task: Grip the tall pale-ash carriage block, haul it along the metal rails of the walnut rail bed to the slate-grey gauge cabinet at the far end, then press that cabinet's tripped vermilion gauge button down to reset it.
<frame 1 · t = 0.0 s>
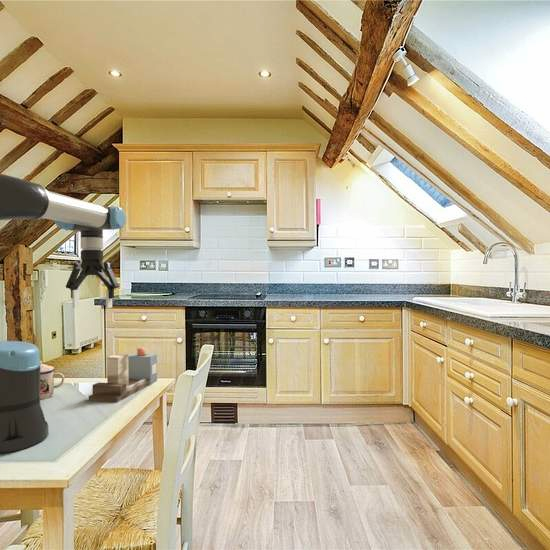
hand: (92, 307, 148), 28 cm above the table, tool pointing down, fingers open, 13 cm apart
carriage: (118, 372, 135), point 7 cm above the table, slide at 0.0 cm
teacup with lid: (43, 396, 133), on the table
rail bed: (125, 390, 139), on the table
gauge button: (141, 353, 150), point 10 cm above the table, slide at 0.0 cm
gauge cabinet: (141, 382, 150), resting on rail bed
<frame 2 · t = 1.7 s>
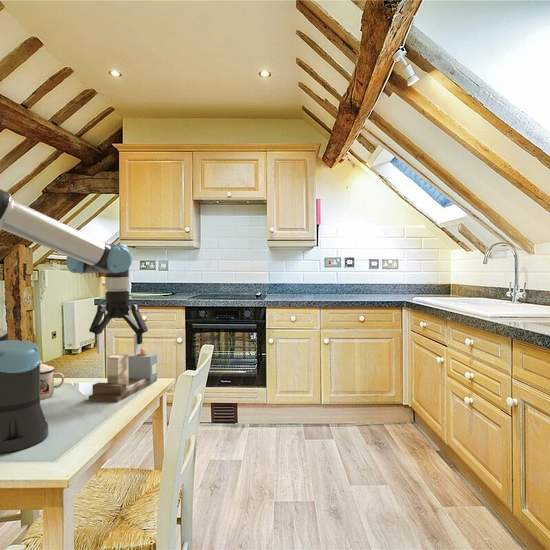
hand: (118, 353, 135), 13 cm above the table, tool pointing down, fingers open, 13 cm apart
nothing on the table moved.
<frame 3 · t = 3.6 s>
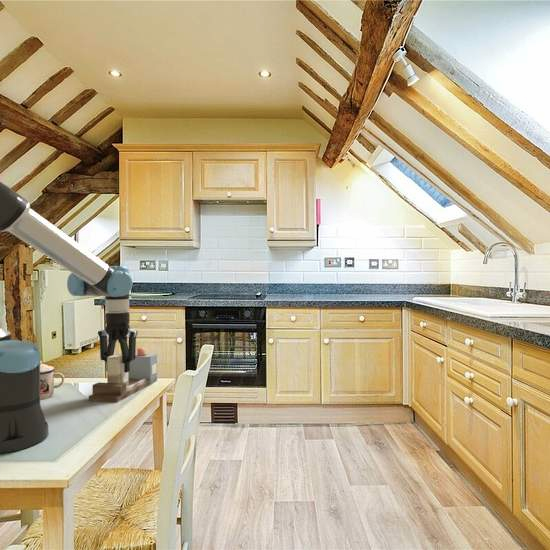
hand: (118, 381, 135), 4 cm above the table, tool pointing down, fingers closed on carriage, 4 cm apart
carriage: (118, 372, 135), point 7 cm above the table, slide at 0.0 cm, touching gripper
everything else where it was.
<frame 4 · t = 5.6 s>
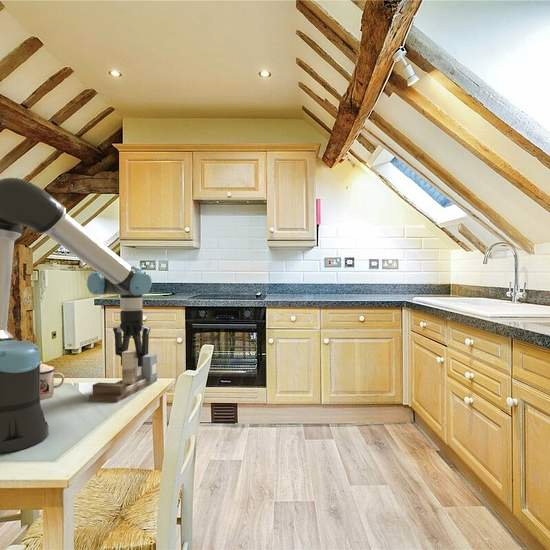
hand: (132, 375, 143), 4 cm above the table, tool pointing down, fingers closed on carriage, 4 cm apart
carriage: (132, 366, 143), point 7 cm above the table, slide at 8.6 cm, touching gripper
everything else where it was.
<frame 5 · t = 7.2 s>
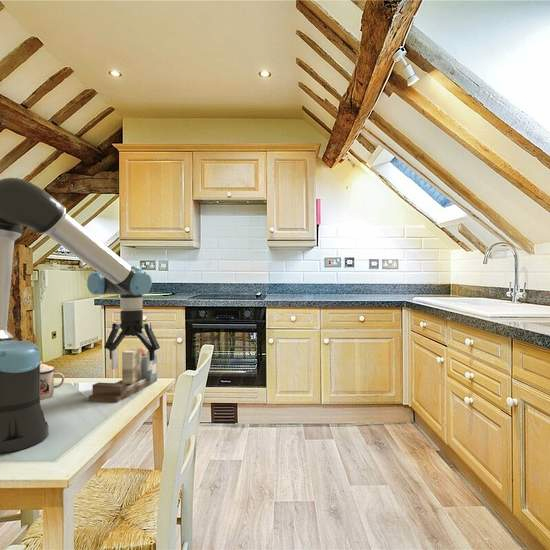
hand: (132, 369, 143), 6 cm above the table, tool pointing down, fingers open, 13 cm apart
carriage: (132, 366, 143), point 7 cm above the table, slide at 8.7 cm
everything else where it was.
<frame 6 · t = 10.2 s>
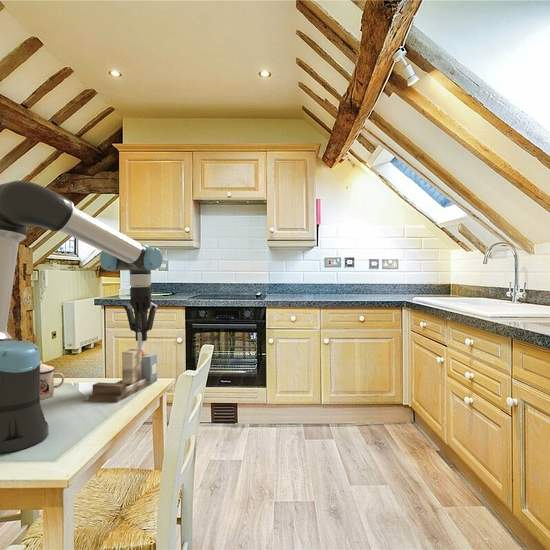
hand: (141, 349, 150), 12 cm above the table, tool pointing down, fingers closed
gauge button: (141, 355, 150), point 10 cm above the table, slide at 0.8 cm, touching gripper
everything else where it was.
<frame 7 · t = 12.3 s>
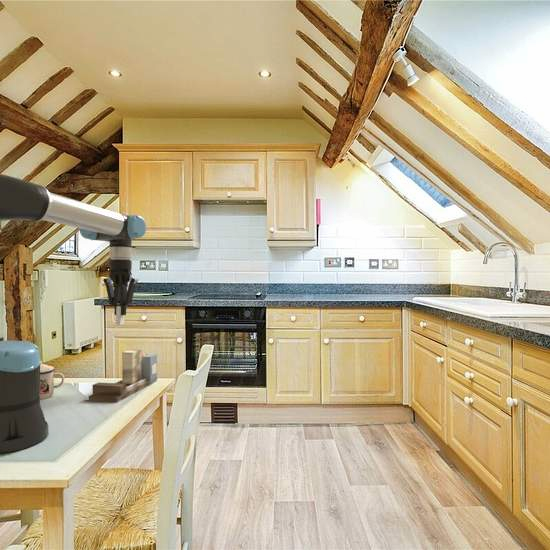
hand: (120, 324, 146), 22 cm above the table, tool pointing down, fingers closed
gauge button: (141, 359, 150), point 8 cm above the table, slide at 2.0 cm
everything else where it was.
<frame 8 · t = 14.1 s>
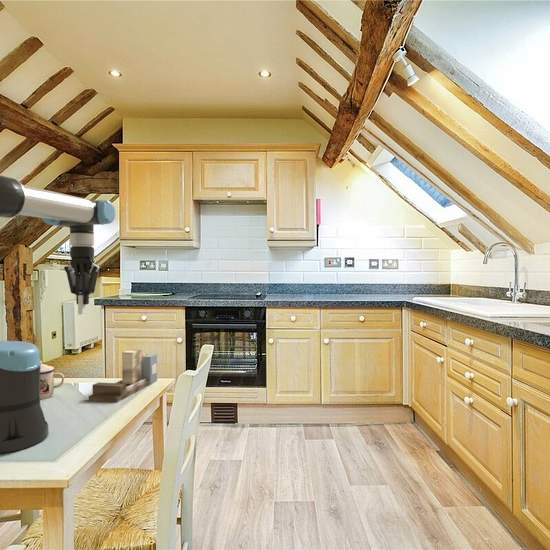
hand: (82, 313, 140), 26 cm above the table, tool pointing down, fingers closed
nothing on the table moved.
at the end: carriage slide at 8.7 cm; gauge button slide at 2.0 cm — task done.
